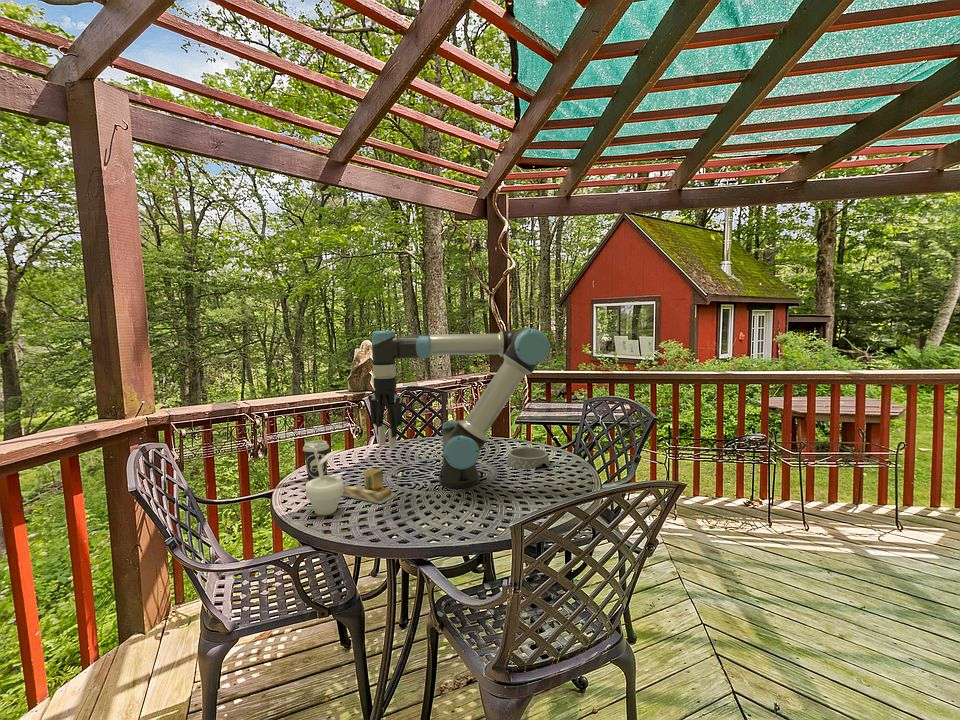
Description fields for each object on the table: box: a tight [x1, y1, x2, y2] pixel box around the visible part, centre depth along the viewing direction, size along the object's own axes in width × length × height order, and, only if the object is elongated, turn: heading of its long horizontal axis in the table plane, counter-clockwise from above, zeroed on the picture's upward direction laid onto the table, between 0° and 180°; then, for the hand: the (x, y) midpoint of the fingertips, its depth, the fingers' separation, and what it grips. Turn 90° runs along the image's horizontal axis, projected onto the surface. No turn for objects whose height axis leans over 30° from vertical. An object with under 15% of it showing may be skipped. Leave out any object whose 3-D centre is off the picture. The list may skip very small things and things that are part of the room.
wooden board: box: [342, 485, 397, 505], centre depth 167 cm, size 17×8×1 cm, turn 62°
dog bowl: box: [506, 446, 551, 470], centre depth 200 cm, size 17×18×5 cm
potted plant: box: [305, 441, 345, 516], centre depth 154 cm, size 13×12×25 cm
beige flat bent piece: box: [343, 484, 392, 502], centre depth 167 cm, size 17×8×2 cm, turn 62°
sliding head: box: [363, 468, 384, 491], centre depth 167 cm, size 4×6×8 cm
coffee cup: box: [302, 439, 330, 482], centre depth 183 cm, size 10×10×15 cm
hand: (387, 445), depth 163 cm, fingers open, 4 cm apart
